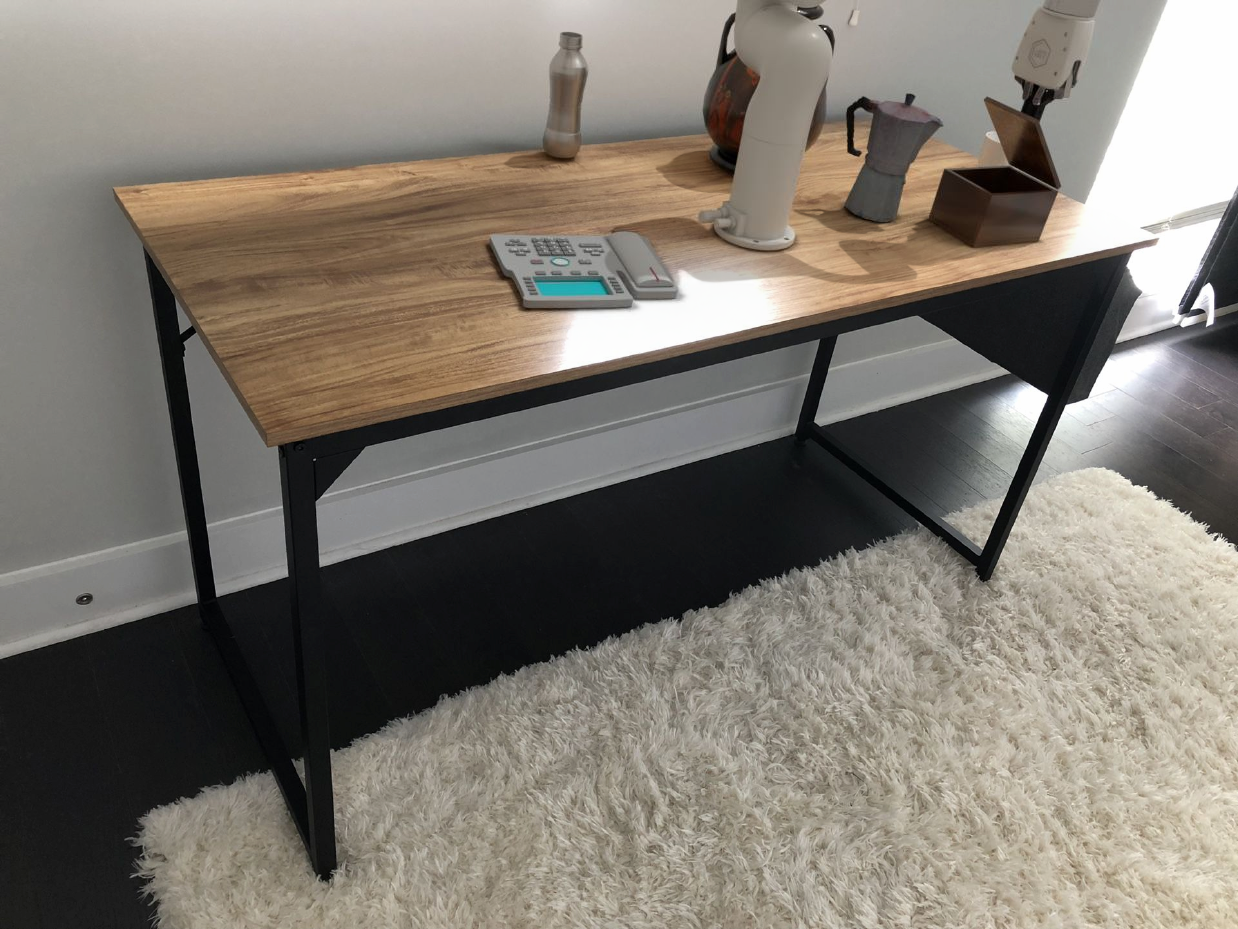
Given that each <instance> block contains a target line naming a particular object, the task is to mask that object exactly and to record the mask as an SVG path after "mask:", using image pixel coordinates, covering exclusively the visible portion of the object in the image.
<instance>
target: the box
mask: <svg viewBox="0 0 1238 929" xmlns="http://www.w3.org/2000/svg"><path fill="white" fill-rule="evenodd" d="M1058 193H1059V190H1057V189H1055V188H1053V187H1051V186H1050V185H1048V184H1046V183H1044V182H1042V181H1040V180H1038V179H1036V178H1034V177H1032V176H1030V175H1028V174H1026V173H1025V172H1023V171H1021V170H1017V169H1015V168H1013V167H1011V166H1010V165H1009V166H989V167H977V166H973V167H971V166H970V167H969V166H968V167H951V168H950V167H949V168H944V169H943V171H942V175H941V177H940V181H939V183H938V186H937V190H936V193H935V196H934V199H933V203H932V205H931V209H930V212H929V214H928V217H927V219H928V220H929V221H931V222H932V223H934V224H935V225H937V226H938V227H940V228H942V229H943V230H945V231H947V233H950V234H952V236H954V237H956V238H958V239H959V240H961V241H962V242H964V243H965V244H967V245H969V246H970V247H972V248H983V247H992V246H1004V245H1013V244H1023V243H1025V244H1026V243H1034V242H1035V243H1036V242H1039V241H1040V239H1041V237H1042V234H1043V232H1044V229H1045V227H1046V224H1047V222H1048V219H1049V217H1050V214H1051V211H1052V208H1053V206H1054V204H1055V201H1056V198H1057V196H1058Z"/></svg>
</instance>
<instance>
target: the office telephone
mask: <svg viewBox="0 0 1238 929" xmlns="http://www.w3.org/2000/svg"><path fill="white" fill-rule="evenodd" d="M489 245H490V248H491V251H492V252H493V254H494V256H495V259H496V261H497V263H498V265H499V267H500V270H501V271H502V273H503V275H504V276H505V277H507V278H510V279H512V281H513V282H514V284H515V286H516V288H517V290H518V293H519V295H520V297H521V299H522V307H524V308H527V309H573V308H575V309H577V308H578V309H583V308H584V309H585V308H587V309H589V308H625V307H626V308H627V307H632V306H633V302H634V298H635V299H640V300H641V299H643V300H644V299H645V300H646V299H649V300H651V299H654V300H657V299H660V300H661V299H662V300H663V299H676V298H677V296H678V291H679V287H678V286H677V284H676V282H675V280H674V278H673V277H672V275H671V274H670V272H669V271H668V268H667V267H666V264H664V262H663V261H662V259H661V257H660V256H659V254H658V253H657V252H656V250H655V248H654V246H652V244H651V243H650V241H649V239H648V237H647V236H643V235H639V234H638V233H636V232H632V231H616V232H613V233H610V234H609V235H556V234H555V235H550V234H549V235H547V234H545V235H544V234H543V235H542V234H541V235H540V234H537V235H536V234H490V235H489ZM627 288H628V289H627ZM629 291H630V292H629Z"/></svg>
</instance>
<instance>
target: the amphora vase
mask: <svg viewBox="0 0 1238 929" xmlns="http://www.w3.org/2000/svg"><path fill="white" fill-rule="evenodd" d="M796 13H799V14H801V15H802V16H804V17H806V18H808V19H809V20H811V21H813V22H814V21H815V20H816V21H817V20H819V19H820V18H822V17H823V15H824V13H825V10H824V9H823V7H822V6H821V4H820V5H818V6H816V7H811V8H802V7H798V6H797V12H796ZM735 16H736V11H735V12H733V13H731V14H730V16H729V17H728V18H727V20H725V23H724V26H723V30H722V33H721V37H720V42H719V47H718V52H717V59H716V65H715V69H714V71H713V73H712V74H711V77H710V79H709V81H708V84H707V88H706V89H705V93H704V96H703V102H702V110H701V111H702V116H703V122H704V127H705V128H706V131H707V133H708V136H709V137H710V139H711V141H712V142H713V143H714V144H713V145H712V146H711V148H710V149H709V151H708V158H709V160H710V162H711V163H712V164H713V165H714V166H715V167H716V168H718V169H719V170H720V171H722V172H723V173H727V174H728V175H731V176H734V173H735V168H736V163H737V158H738V153H739V148H740V143H741V137H742V132H743V126H744V120H745V116H746V112H747V108H748V105H749V103H750V100H751V98H752V96H753V94H754V92H755V90H756V88H757V86H758V84H759V81H760V76H759V75H758V74H757V73H755V72H754V71H753V70H751V69H750V68H748V67H747V66H746V65H745V64H744V63H743V62H742V61H741V60H740V58H739V56H738V55H737V52H736V49H735V47H734V48H733V49H732V50H730V52H729V53H728V51H727V50H728V39H729V35H730V32H731V29H732V27H733V26H734V24H735ZM817 25H818V26H819V27H821V29H822V30H823V31H824V32H825V33H826V35H827V37H828V38H829V41H830V43H831V47H832V59H833V58H834V52H835V45H836V38H835V34H834V30H833V29H832V28H831V27H830V26H828V25H827V24H817ZM829 76H830V74H829V75H828V78H827V80H826V82H825V85H824V87H823V89H822V91H821V94H820V96H819V99H818V102H817V105H816V108H815V111H814V114H813V118H812V122H811V126H810V130H809V134H808V138H807V143H806V148H805V152H804V154H805V153H807V152H808V151H809V150H810V149H811V148H812V147H813V146H814V145H815V144H816V142H817V140H818V139H819V137H820V136H821V134H822V132H823V128H824V125H825V120H826V118H827V106H828V98H827V96H828V95H827V85H828V80H829Z"/></svg>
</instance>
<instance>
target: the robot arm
mask: <svg viewBox="0 0 1238 929" xmlns="http://www.w3.org/2000/svg"><path fill="white" fill-rule="evenodd" d="M826 1H827V0H737V1H736V8H735V12H736V16H735V22H734V24H733V44H734V48H735V49H736V52H737V55H738V56H739V58H740V60H741V61H742V62H743V63H744V64H745V65H746V66H747V67H748V68H750V69H751V70H753V71H754V72H755V73H757V74H758V75H759V76H760V81H759V84H758V86H757V88H756V90H755V92H754V94H753V96H752V98H751V100H750V103H749V105H748V108H747V112H746V116H745V120H744V126H743V132H742V137H741V143H740V148H739V153H738V158H737V163H736V168H735V173H734V175H733V179H732V185H731V189H730V194H729V200H723V201H722V205H721V206H720V207H718V208H717V209H715V210H714V209H713V210H712V209H704V210H700V211H699V213H698V222H699V223H700V224H713V229H714V232H715V233H716V234H717V235H718V236H719V237H721V239H723V240H725V241H727V242H728V243H731V244H733V245H736V246H738V247H742V248H745V249H752V250H757V251H779V250H784V249H787V248H789V247H791V246H792V245H793V244H794V242H795V238H796V232H795V230H794V229H793V227H792V226H791V225H789V221H790V220H789V219H790V216H791V212H792V208H793V203H794V199H795V194H796V190H797V185H798V180H799V177H800V174H801V169H802V168H801V167H802V164H803V160H804V155H805V153H806V152H805V148H806V143H807V138H808V134H809V130H810V126H811V122H812V118H813V114H814V111H815V108H816V105H817V102H818V99H819V96H820V94H821V91H822V89H823V87H824V85H825V82H826V80H827V78H828V79H829V76H830V72H831V68H832V64H833V58H832V47H831V43H830V41H829V38H828V37H827V35H826V33H825V32H824V31H823V30H822V29H821V27H819V26H818V25H819V24H817V23H816V22H814V20H813V21H811V20H809V19H808V18H806V17H804V16H802V15H801V14H799V13H796V12H797V6H798V7H802V8H811V7H816V6H818V5H820V6H821V5H822V4H823V3H824V2H826ZM1100 3H1101V0H1044V2H1043V5H1042V6H1038V7H1037V9H1036V10H1035V12H1034V14H1033V15H1032V17H1031V19H1030V21H1029V23H1028V25H1027V26H1026V29H1025V31H1024V33H1023V36H1022V38H1021V40H1020V43H1019V45H1018V46H1017V47H1018V48H1017V49H1016V53H1015V55H1014V58H1013V61H1012V65H1011V71H1012V73H1013V74H1014V76H1013V79H1014V81H1015V82H1017V83H1018V84H1019V85H1020V86H1021V89H1022V96H1021V99H1022V101H1023V104H1022V105H1021V110H1020V112H1022V113H1024V114H1027V115H1029V116H1031V117H1033V118H1035V119H1037V120H1039V123H1040V124H1041V120H1042V117H1043V114H1044V112H1045V110H1046V107H1047V106H1049V105H1051V104H1052V102H1053V101H1055V100H1068V99H1069V98H1070V96H1071V90H1072V89H1074V88H1075V87H1076V86H1077V84H1078V82H1079V80H1080V77H1081V75H1082V72H1083V70H1084V67H1085V64H1086V61H1087V58H1088V55H1089V51H1090V48H1091V44H1092V40H1093V35H1094V30H1095V25H1096V21H1095V20H1094V19H1095V16H1096V13H1097V11H1098V8H1099V5H1100ZM828 75H829V76H828ZM827 81H828V80H827ZM804 152H805V153H804Z"/></svg>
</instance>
